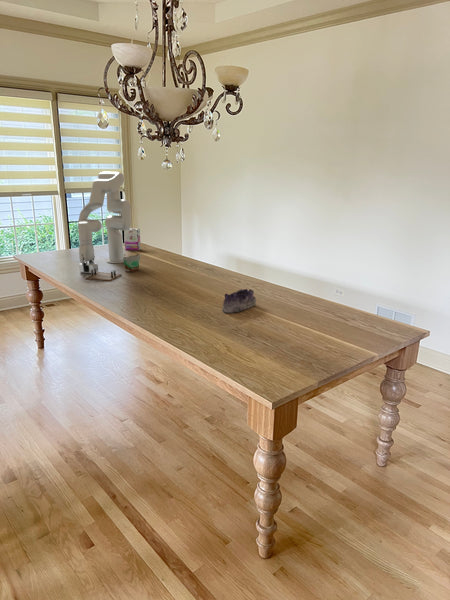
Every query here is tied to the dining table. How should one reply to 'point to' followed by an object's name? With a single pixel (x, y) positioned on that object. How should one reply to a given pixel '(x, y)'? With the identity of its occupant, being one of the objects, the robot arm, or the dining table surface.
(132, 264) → the food container
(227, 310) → the geode
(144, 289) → the dining table surface
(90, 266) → the light grey block
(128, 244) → the candy bar box
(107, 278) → the tray
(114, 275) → the tray pins
